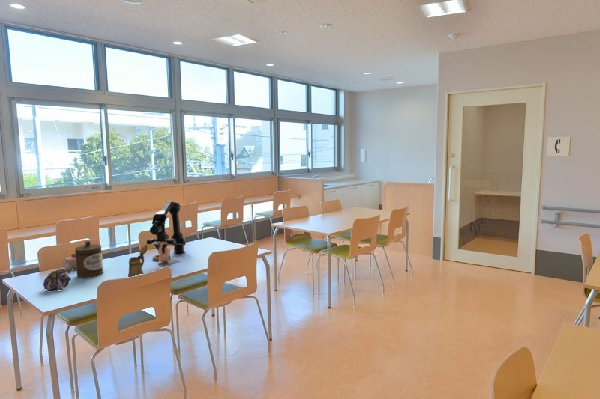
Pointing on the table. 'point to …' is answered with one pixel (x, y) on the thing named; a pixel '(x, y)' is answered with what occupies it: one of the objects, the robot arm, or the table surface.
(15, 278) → the table surface
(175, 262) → the mat
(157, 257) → the collar
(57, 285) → the decorative flower
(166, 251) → the peach rounded piece
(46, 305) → the table surface
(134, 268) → the wooden mug
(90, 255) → the wooden container
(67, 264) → the food item
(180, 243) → the robot arm
